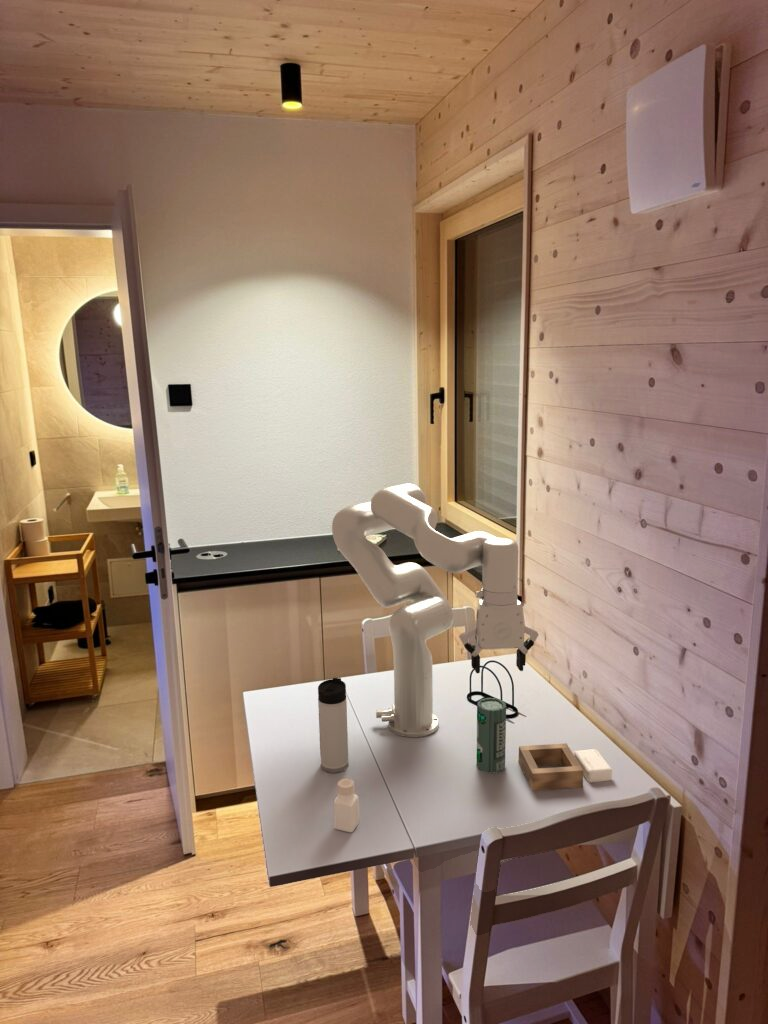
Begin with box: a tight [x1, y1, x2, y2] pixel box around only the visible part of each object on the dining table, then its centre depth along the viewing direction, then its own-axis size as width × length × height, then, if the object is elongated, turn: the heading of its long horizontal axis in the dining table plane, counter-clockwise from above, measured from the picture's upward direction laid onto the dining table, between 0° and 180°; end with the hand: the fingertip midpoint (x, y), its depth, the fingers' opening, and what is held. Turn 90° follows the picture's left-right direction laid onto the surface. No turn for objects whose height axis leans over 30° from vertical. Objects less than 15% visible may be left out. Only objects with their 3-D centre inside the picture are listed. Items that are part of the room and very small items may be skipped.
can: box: [476, 697, 507, 774], centre depth 162 cm, size 6×6×15 cm
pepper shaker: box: [333, 778, 360, 833], centre depth 143 cm, size 4×4×10 cm
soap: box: [573, 748, 613, 783], centre depth 161 cm, size 9×6×3 cm, turn 7°
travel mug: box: [317, 677, 349, 774], centre depth 163 cm, size 6×7×20 cm
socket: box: [518, 742, 584, 792], centre depth 160 cm, size 11×11×4 cm
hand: (498, 669), depth 160 cm, fingers open, 9 cm apart
